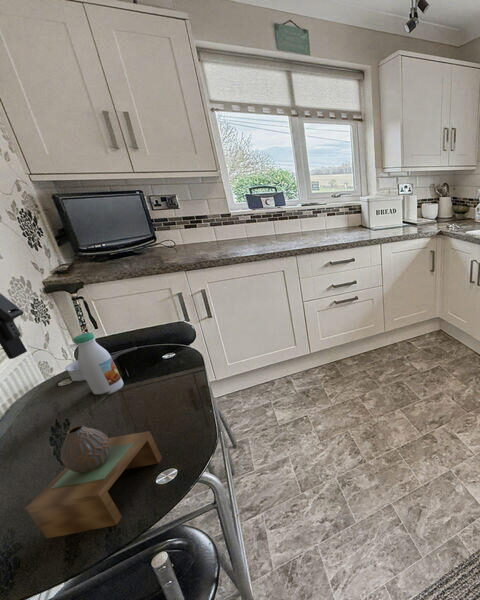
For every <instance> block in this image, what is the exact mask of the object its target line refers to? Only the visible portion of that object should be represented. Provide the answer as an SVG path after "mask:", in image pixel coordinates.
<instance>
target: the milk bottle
mask: <svg viewBox="0 0 480 600" xmlns="http://www.w3.org/2000/svg"><path fill="white" fill-rule="evenodd" d="M73 342H74V344H75V346H77V349H78V355H77V360H78V364H79V366H80V369H81V371H82V373H83V375H84V377H85V379H86V380H85V381H86V382H87V385H88V386H89V389H90V390H91V392H92V393H93V395H103V394H105V396H109V395H110V394H113V393H115V392H118V391H119V390H120V389H122V388H123V386H124V381H123V379H122V376H121V374H120V373H119V370H118V368H117V366H116V364H115V362H114V360H112V358H111V354H110V353H109V351H108V350H107V349H105V348H104V347H103V346H101V345H100V344H99V343H98V342H97V341H96V338H95V335H94V333H93V332H86V333H82V334H79V335H76V336H74V337H73Z"/></svg>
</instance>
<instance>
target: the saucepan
mask: <svg viewBox="0 0 480 600" xmlns="http://www.w3.org/2000/svg"><path fill="white" fill-rule="evenodd" d="M133 351H137V347H136V346H134V347H131V348H128V349H126V350H122V351H119V352H117V353H115V354H113V355H112V354H110V356H111V358H112V360H113V361H115V360H116V359H117V358H119V356H122V355H124V354H127V353H131V352H133ZM64 370H65V371H67V373H68V375H69V376H70V378H71V381H73V382H82V381H86V379H85V377H84V375H83V373H82V371H81V369H80V366H79V364H78V359H77V360H75V361H73V362H71V363H69V364H67V365H66V366H65V367H64Z"/></svg>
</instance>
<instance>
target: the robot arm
mask: <svg viewBox="0 0 480 600" xmlns="http://www.w3.org/2000/svg"><path fill="white" fill-rule="evenodd" d="M22 315H24V311H23V310H22V308H20V307H18V306H17V305H16V304H15V303H13V301H11V300H10V299H9V298H7V297H6V296H4V294H2V292H0V346H1V349H2V350H3V352H4V353H5V355H6V356H7V358H8V360H13V359H16V358H17V357H20V356H21V355H24V354H25V353H27V352H28V350H27V348H26V347H25V345H24V343H23V342H22V340H21V336H22V333H21V331H20V329H19V328H18V326H17V325H16V323H15V319H16V318H19V317H20V316H22Z"/></svg>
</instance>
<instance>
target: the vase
mask: <svg viewBox="0 0 480 600" xmlns="http://www.w3.org/2000/svg"><path fill="white" fill-rule="evenodd" d="M108 438H109V437H108V436H107V434H105V432H103V431H101V430H99V429H97V428H91V427H87V426H86V425H83V424H79V425H75V426H73V427H71V428H70V429H68V430H67V431H66V435H65V439H64V440H63V443H62V445H61V447H60V459H61V462H62V464H63V465H64V466H65V468H66V467H67V468H68V469H70V470H71V471H74V472H79V473H83V472H89V471H92V470H95V469H96V468H98V467H100V466H101V465H102V464H104V463H105V462H106V460H107V459H108V457H109V455H110V453H111V443H110V441H109V439H108Z"/></svg>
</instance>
